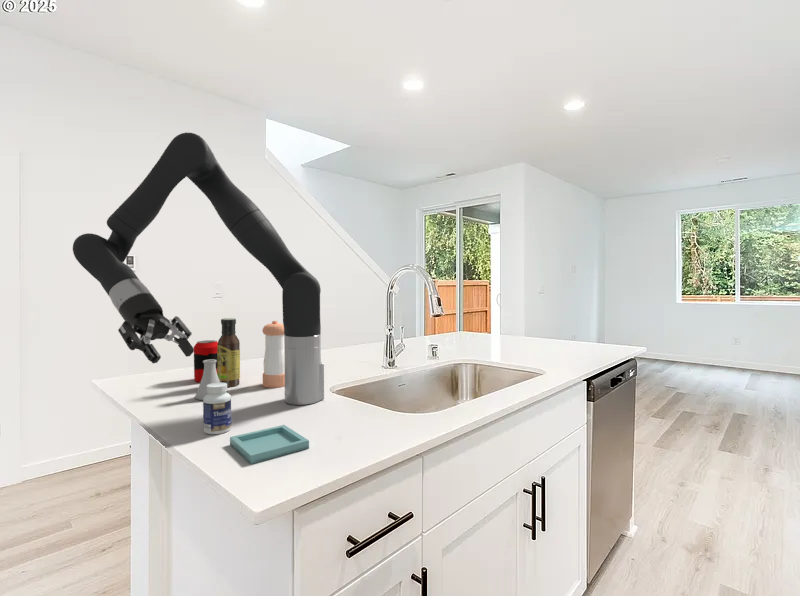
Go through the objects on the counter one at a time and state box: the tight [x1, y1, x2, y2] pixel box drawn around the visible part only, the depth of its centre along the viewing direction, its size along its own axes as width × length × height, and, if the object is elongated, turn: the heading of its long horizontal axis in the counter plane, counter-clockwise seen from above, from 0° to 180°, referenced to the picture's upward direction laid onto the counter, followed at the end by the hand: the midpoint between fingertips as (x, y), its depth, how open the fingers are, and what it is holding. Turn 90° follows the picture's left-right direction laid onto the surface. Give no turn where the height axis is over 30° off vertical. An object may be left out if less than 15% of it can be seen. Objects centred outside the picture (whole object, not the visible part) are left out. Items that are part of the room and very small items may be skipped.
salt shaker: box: [261, 320, 285, 389], centre depth 128 cm, size 7×7×19 cm
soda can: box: [193, 339, 218, 383], centre depth 134 cm, size 8×8×12 cm
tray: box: [229, 424, 310, 465], centre depth 82 cm, size 11×11×2 cm
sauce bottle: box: [217, 317, 241, 388], centre depth 127 cm, size 6×6×20 cm
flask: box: [194, 359, 220, 401], centre depth 115 cm, size 7×7×10 cm
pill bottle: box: [202, 382, 232, 435], centre depth 90 cm, size 5×5×10 cm
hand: (174, 357), depth 94 cm, fingers open, 8 cm apart
